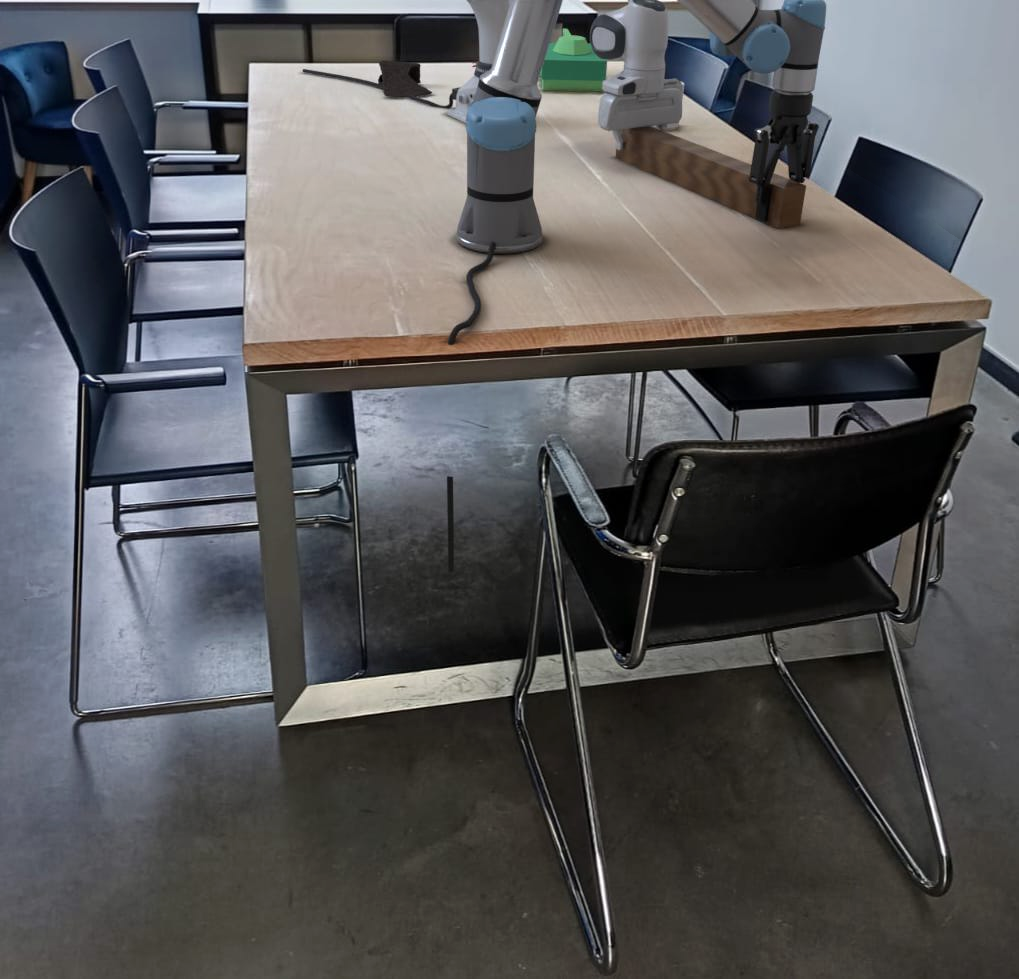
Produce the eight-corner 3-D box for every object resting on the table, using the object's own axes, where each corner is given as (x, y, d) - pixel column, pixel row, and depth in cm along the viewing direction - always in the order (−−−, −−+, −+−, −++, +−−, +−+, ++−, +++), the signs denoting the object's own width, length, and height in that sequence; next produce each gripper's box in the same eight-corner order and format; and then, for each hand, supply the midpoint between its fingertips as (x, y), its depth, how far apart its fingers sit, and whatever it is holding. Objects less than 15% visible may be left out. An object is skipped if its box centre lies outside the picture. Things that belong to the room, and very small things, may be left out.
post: (800, 224, 207) (806, 185, 203) (778, 228, 205) (784, 188, 201) (635, 155, 248) (637, 121, 244) (615, 157, 246) (617, 123, 242)
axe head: (443, 87, 294) (392, 77, 287) (436, 115, 299) (385, 106, 292) (421, 62, 307) (371, 52, 300) (414, 89, 311) (365, 80, 304)
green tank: (593, 25, 326) (608, 46, 296) (591, 69, 332) (604, 93, 302) (534, 24, 325) (543, 45, 295) (533, 67, 331) (541, 92, 301)
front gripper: (816, 82, 204) (797, 205, 216) (738, 91, 196) (723, 218, 208) (845, 90, 198) (823, 216, 210) (766, 99, 190) (748, 229, 202)
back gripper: (674, 75, 241) (668, 139, 248) (596, 82, 232) (592, 148, 240) (691, 80, 236) (685, 145, 244) (612, 88, 228) (608, 155, 235)
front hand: (773, 217), depth 209 cm, fingers closed on post, 5 cm apart
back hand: (638, 147), depth 242 cm, fingers open, 8 cm apart
